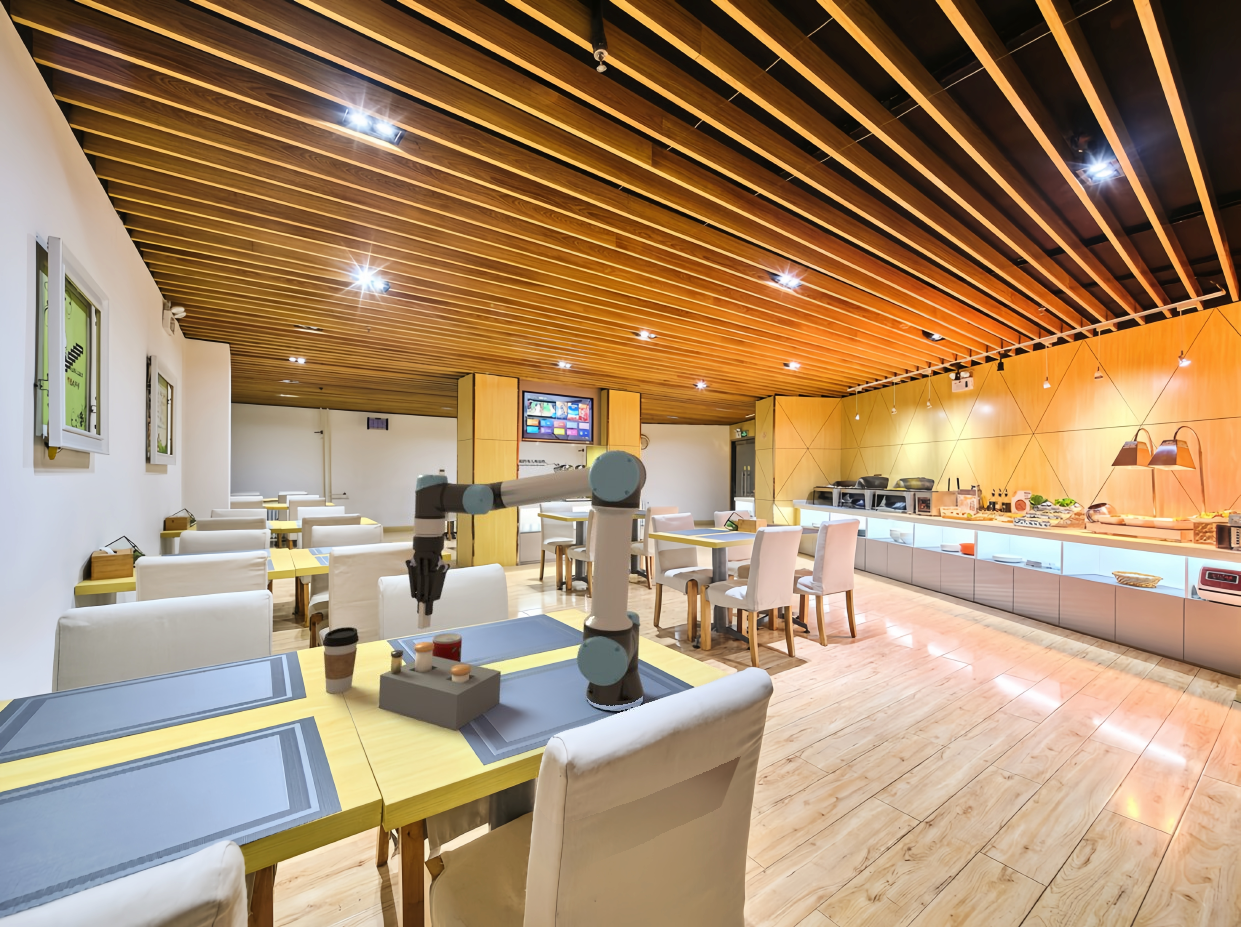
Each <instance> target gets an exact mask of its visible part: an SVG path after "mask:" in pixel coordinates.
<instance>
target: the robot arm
mask: <svg viewBox="0 0 1241 927" xmlns="http://www.w3.org/2000/svg"><path fill="white" fill-rule="evenodd" d="M646 482H647V470H646V467H645V465H644V463H643V461H642V460H641V459H640V457H637V456H636V455H634V454H632V453H629V452H626V451H624V450H619V449H618V450H617V449H616V450H609V451H605V452H603V453H601V454H600V455H598V456H597V457H596V458H595V459H594V460H593V462H592V463H591V465H590V466H589V467H582V468H581V467H580V468H576V469H570V470H565V471H557V472H551V473H546V474H540V475H533V476H528V477H522V478H521V477H520V478H515V479H510V480H504V481H496V482H490V483H474V484H473V483H452V482H449V481H448V476H447V475H445V474H443V475H442V474H428V473H427V474H422V473H421V474H419V475H418V476H417V479H416V484H415V485H416V486H415V491H414V493H415V498H414V499H415V501H414V502H415V503H414V518H413V519H414V520H413V534H414V535H413V537H412V550H413V551H414V552H413V555H412V558H409V559H406V560H405V562H404V563H405V565H406V568H407V571H408V572H407V573H408V580H409V588H410V596H411V598H412V599H415V600H416V602H417V607H416V608H417V610H416V612H417V614H418V615H417V616H418V620H417V629H420V630H424V629H427V628H429V627H431V621H432V620H431V618H432V615H433V613H434V602H435V601H439V600H440V599H441V596H442V593H443V588H444V584H445V581H446V577H447V572H448V571H450V570H449V569H450V568H451V565H450V564H449V563H446V562H445V561H443V560H444V559H443V554H442V552H443V550H444V548H445V536H444V535H443V534H444V533H445V529H446V514H447V513H448V514H449V513H452V514H453V513H454V514H462V515H463V514H467V515H472V516H476V515H477V516H478V515H480V516H481V515H487V514H489V512H493V511H499V510H504V509H505V510H506V509H510V508H517V507H522V506H529V505H536V504H543V503H550V502H555V501H562V500H569V499H576V498H583V497H590V496H591V502H590V503H591V504H590V505H591V508H592V509H593V510H594V511H595V513H596V527H595V528H596V529H595V542H594V556H593V557H594V558H593V570H592V588H591V589H592V591H591V605H590V606H591V607H590V614H589V615H587V616H586V617H585V618H584V619H583V628H582V642H581V644H580V645H579V647H578V651H577V656H576V662H577V667H578V669H579V672H580V674H581V675H582V676H583V677H584V678H585V679H586V680H587V681H588V684H587V688H586V696H587V698H588V699H589V700H590V701H591V702H593V703H596V704H599V705H606V706H609V705H610V706H613V705H614V706H615V705H623V704H628V703H632V702H635V701H636V700H638V699H639V698H641V697H642V696H643V695H645V691H644V687H643V684H642V681H641V676H640V673H639V651H640V648H639V646H640V626H641V623H640V620H641V619H640V615H639V614H638V613H637V612H634V611H631V610H628V602H629V601H628V600H629V585H630V583H629V582H630V571H631V570H630V567H631V552H632V538H633V537H632V533H633V519H634V515H635V514H636V513H637V512H638V511H639V510H640V508H641V506H640V505H641V496H642V495H641V492H642V490H643V488H644V487H645V484H646ZM631 708H633V707H631ZM625 710H628V709H625ZM621 711H623V712H625V711H624V710H621ZM621 711H618V713H621Z"/></svg>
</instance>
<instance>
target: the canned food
mask: <svg viewBox="0 0 1241 927" xmlns="http://www.w3.org/2000/svg"><path fill="white" fill-rule="evenodd" d="M462 639H463V637H462V635H461V634H458V633H453V632H449V633H448V632H446V633H439V634H435V636H433V638H432V643H434V649H433V650H432V656H436V657H440V658H444V659H449V660H453V661H458V662H461V661H462V644H463V642H462V641H463V640H462Z"/></svg>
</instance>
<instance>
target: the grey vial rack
mask: <svg viewBox="0 0 1241 927" xmlns="http://www.w3.org/2000/svg"><path fill="white" fill-rule="evenodd" d="M460 664H465V665H469V666H471V672H470V673H469V680H467V681H465V682H463V683H458V682H454V681H452V674H451V668H452V667H453V666H455V665H460ZM501 672H502V671H501V670H498V669H497V670H496V669H493V668H488V667H484V666H480V665H475V664H470V663H466V662H463V661H462V662H458V661H453V660H449V659H444V658H440V657H436V656H432V670H431V671H429V672H426V673H424V674H422V673H418V672H415V660H413V661H411V662H408V663H406V664H404V665H403V664H402V668H401V673H399V674H391V670H388V671H386V672H384V673H380V675H379V694H378V695H379V696H378V708H379V709H381V710H385V711H387V712H388V711H389V712H391V713H394V714H399V715H402V716H405V717H408V718H412V719H414V720H415V719H416V720H418V721H422V722H426V723H428V724H430V725H431V724H432V725H435V726H438V727H442V728H446V729H448V730H452V731H456V732H457V730H459V729H460V728H462V727H464V726H466V725H467V724H470V722H472V721H473V720H475V719H476V718H478V717H480V716H481V715H483V714H484V713H486V712H488V711H489V710H491V709H492V708H494V707H496V706H497V705H498V704H500V699H501V696H500V695H501Z"/></svg>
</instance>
